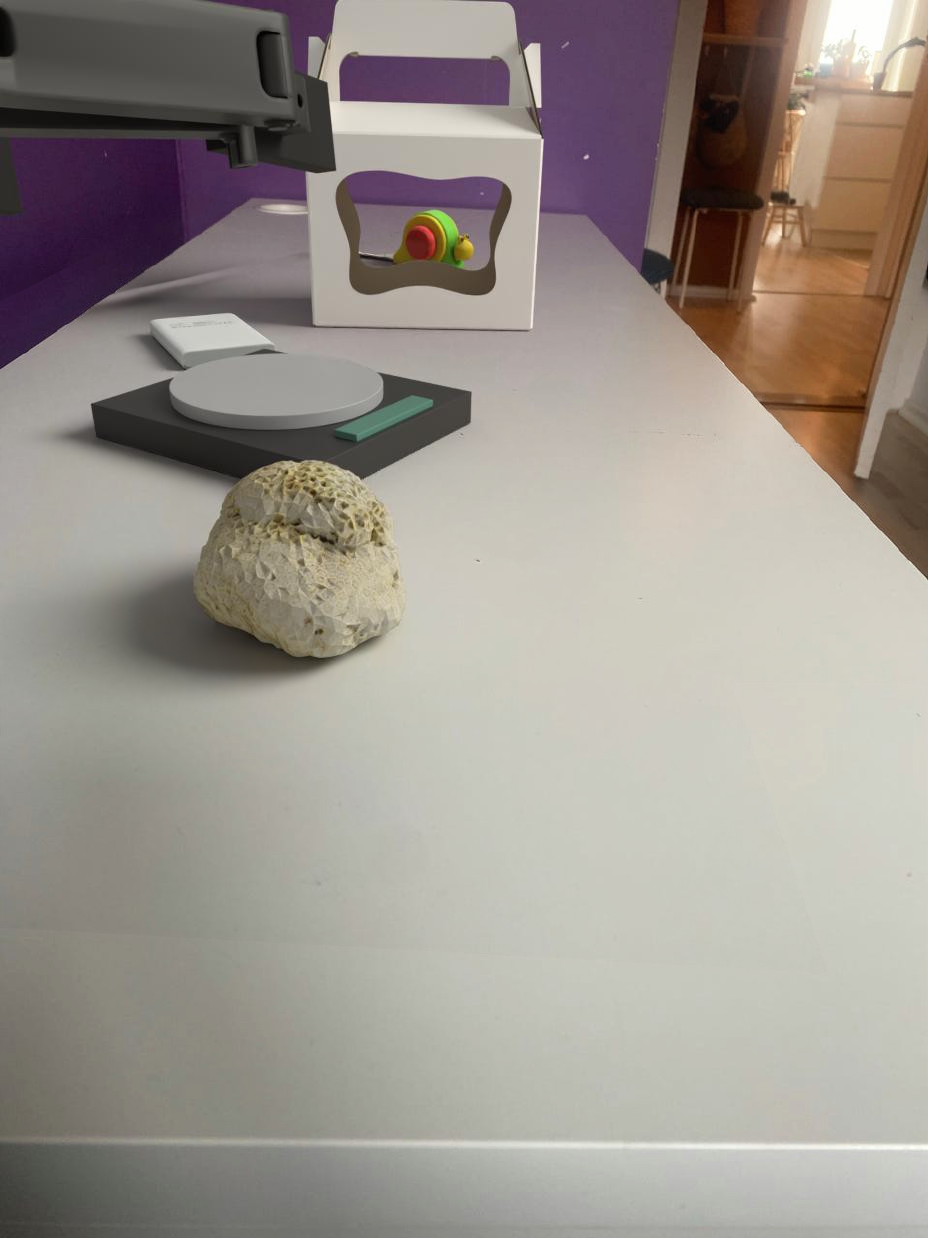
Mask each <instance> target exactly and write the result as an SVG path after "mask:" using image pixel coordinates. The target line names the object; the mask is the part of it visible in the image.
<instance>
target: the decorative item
mask: <svg viewBox="0 0 928 1238" xmlns="http://www.w3.org/2000/svg"><path fill="white" fill-rule="evenodd" d="M219 514H220V515H219V517H218V518H217V519H216V521H215V523H214V524H213V526H212V527H211V529H210V531H209V535H208V539H207V540H206V543H205V544H204V545H203V546H202V547H201V551H200V555H199V561H198V563H197V569H196V571H195V572H194V574H193V576H192V577H193V595H194V597H195V598H196V600H197V601H198V603H199V605H200V606H201V609H202V610H204V612H205V614H206V615H208V616H209V617H210V618H211V619H212V620H214V621H215V622H218V623H221V624H223V625H225V627H232V628H237V629H239V630H242V631H245V632H246V633H247V634H249V635H251V636H254V637H255V638H256V639H257V640H259V642H260V643H265V644H271V645H273V646H275V648H276V649H282V650H283V651H284V652H285V653H287V654H288V655H290V656H292V657H296V658H303V657H308V656H311V657H314V658H319V659H320V658H331V657H336V656H340V655H343V654H346V653H348V652H349V651H351V650H353V649H354V648H356V647H357V646H359V645H360V644H362V643H364V642H366V641H368V640H370V639H371V638H375V637H377V636H381V635H384V634H388V633H389V632H391V631H392V630H394V629H395V628H396V627H398V626H399V623H400V622H401V621H402V620H403V617H404V613H405V610H406V606H407V602H408V601H407V600H408V599H407V591H406V586H405V583H404V579H403V575H402V565H401V560H400V557H399V553H398V550H399V548H398V546H397V544H396V542H395V540H394V539H395V538H394V537H395V522H394V519H393V517H392V514H391V511H390V509H389V508H388V507H387V505H386V504H385V503H384V502H382V501H381V500H380V499H378V497H377V496H376V495H375V493H374V492H373V490H372V489H371V487H369V486H368V485H367V484H366V483H365V482H364V481H362V479H361V480H360V478H359V477H358V476H355V475H354V474H353V473H352V472H350V471H348V470H344V469H341V468H339V467H338V466H337V465H333V464H330V463H327V462H322V461H316V460H306V461H302V462H300V463H296V462H293V461H281V462H276V463H274V464H271V465H268V466H265V467H262V468H260V469H258V470H256V471H254V472H252V473H250V474H249V475H248V476H246V477H244V478H240V479H239V481H237V482H236V483H235V484H233V486H232V487H231V488H230V490H229V491H228V492H227V493H226V495H225V497H224V499H223V502H222V503H221V508H220V511H219Z"/></svg>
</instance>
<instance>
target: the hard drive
mask: <svg viewBox="0 0 928 1238" xmlns="http://www.w3.org/2000/svg"><path fill="white" fill-rule="evenodd" d="M149 330H150V332H149V333H150V335H152V336H153V338H154V339H155V340H156V341H157V342H158V343H159V344H160V346H162V348H164V349H165V350H166V352H168V353H169V354H170V355H171V356H172V357H173V359H174V360H176V361H177V363H178V364H179V365H180V366H181V367H182V368H183V369H185V370H187V369H189V368H192V367H194V366H197V365H200V364H203V363H207V362H211V361H215V360H220V359H225V358H231V357H238V356H243V355H246V354H249V353H252V352H255V351H258V350H261V349H269V350H274V351H276V345H275V344H274V343H273V342H272V341H271V340H269V339H268V338H266V336H264V335H262V334H261V333H260V332H258V331H257V330H256V329H254V328H253V327H252V326H250V325H249V324H248V323H246V322H245V321H244V320H242V319H241V318H239V316H237V315H235V314H234V313H231V312H224V313H214V314H200V315H191V316H177V317H165V318H156V319H151V320H150V321H149Z"/></svg>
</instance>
